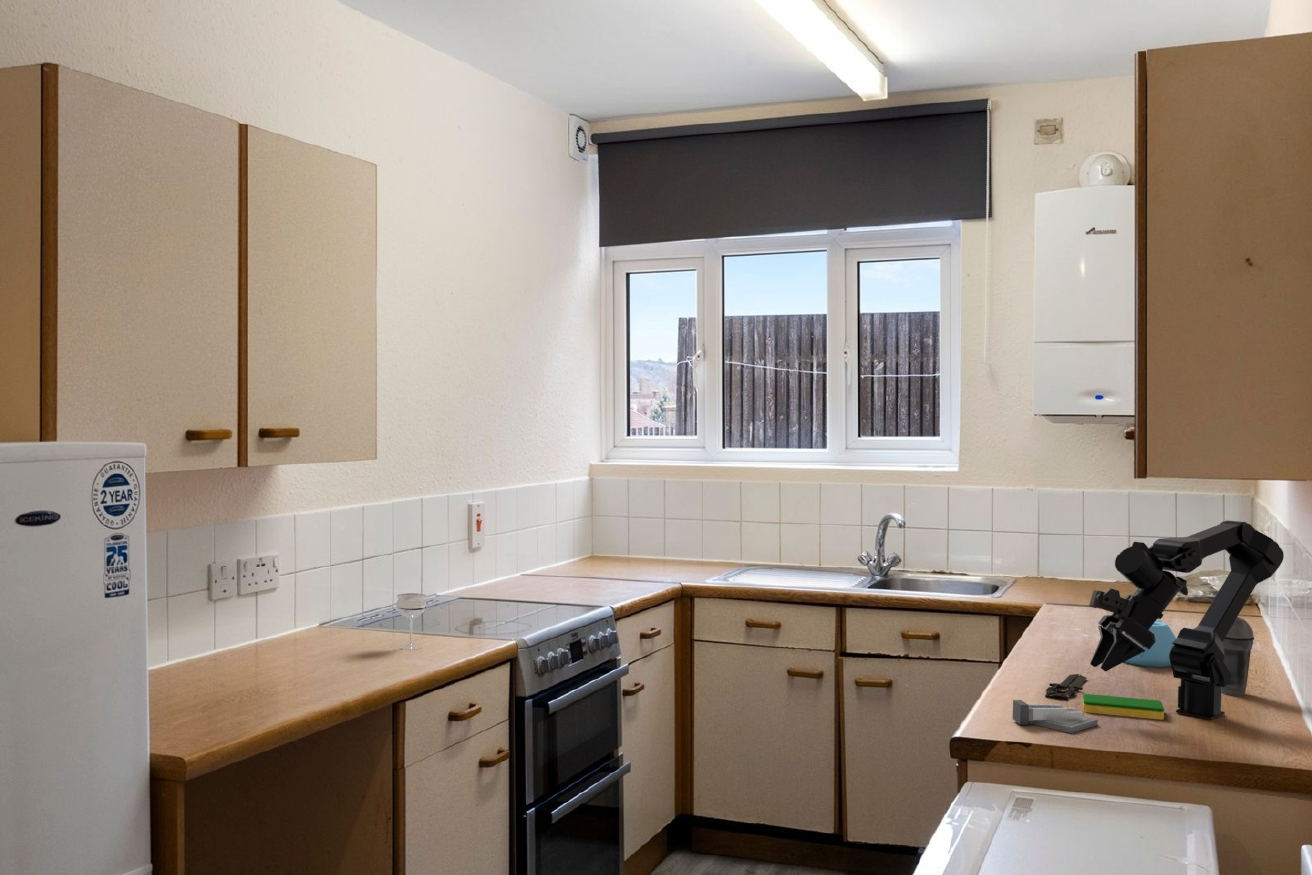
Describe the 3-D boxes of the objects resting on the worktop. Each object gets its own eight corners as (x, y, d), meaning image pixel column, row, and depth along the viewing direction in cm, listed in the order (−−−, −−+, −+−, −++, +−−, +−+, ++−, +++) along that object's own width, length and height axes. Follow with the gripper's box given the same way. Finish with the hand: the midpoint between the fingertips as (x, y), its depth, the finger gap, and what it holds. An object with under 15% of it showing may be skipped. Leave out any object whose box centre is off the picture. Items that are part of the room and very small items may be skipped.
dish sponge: (1163, 721, 208) (1164, 708, 208) (1083, 714, 213) (1083, 701, 213) (1160, 712, 215) (1160, 700, 215) (1082, 705, 219) (1083, 693, 219)
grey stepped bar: (1020, 705, 201) (1083, 705, 202) (1012, 699, 205) (1074, 699, 206) (1020, 724, 201) (1083, 724, 202) (1012, 718, 205) (1074, 718, 206)
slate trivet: (1097, 725, 203) (1097, 719, 203) (1070, 733, 197) (1070, 727, 197) (1052, 714, 210) (1052, 708, 210) (1024, 721, 204) (1025, 716, 204)
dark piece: (1071, 676, 245) (1071, 670, 245) (1102, 681, 241) (1102, 674, 241) (1035, 698, 224) (1035, 691, 224) (1068, 703, 221) (1068, 696, 221)
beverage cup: (1247, 690, 233) (1249, 593, 232) (1257, 698, 226) (1260, 598, 225) (1208, 687, 234) (1211, 591, 234) (1217, 695, 227) (1220, 596, 227)
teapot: (1098, 654, 267) (1099, 609, 267) (1159, 654, 269) (1160, 609, 268) (1132, 669, 252) (1133, 620, 252) (1195, 668, 253) (1197, 620, 253)
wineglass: (397, 644, 263) (398, 593, 263) (427, 644, 264) (427, 593, 263) (393, 650, 256) (394, 597, 256) (423, 650, 257) (424, 597, 257)
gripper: (1101, 572, 217) (1051, 636, 217) (1124, 572, 198) (1069, 642, 199) (1151, 609, 214) (1101, 674, 214) (1179, 612, 196) (1123, 683, 196)
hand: (1097, 667), depth 206 cm, fingers open, 9 cm apart
